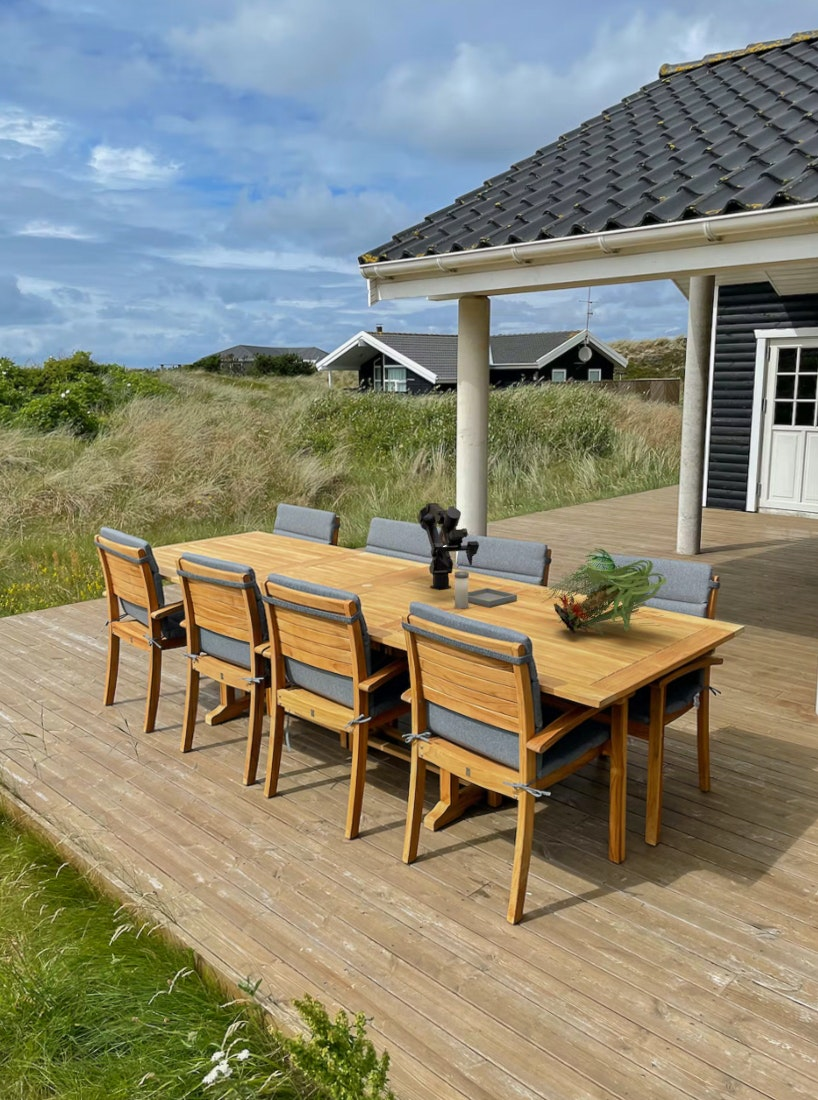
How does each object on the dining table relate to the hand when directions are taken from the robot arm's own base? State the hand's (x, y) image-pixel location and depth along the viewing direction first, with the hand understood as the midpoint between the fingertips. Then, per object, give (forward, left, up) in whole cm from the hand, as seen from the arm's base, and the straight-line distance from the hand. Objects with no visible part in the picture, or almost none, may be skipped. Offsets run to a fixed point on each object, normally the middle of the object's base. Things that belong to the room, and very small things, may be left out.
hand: (460, 565), depth 337 cm
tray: (+6, +10, -15) cm, 19 cm away
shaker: (+6, -5, -15) cm, 17 cm away
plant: (+59, +7, -15) cm, 61 cm away
